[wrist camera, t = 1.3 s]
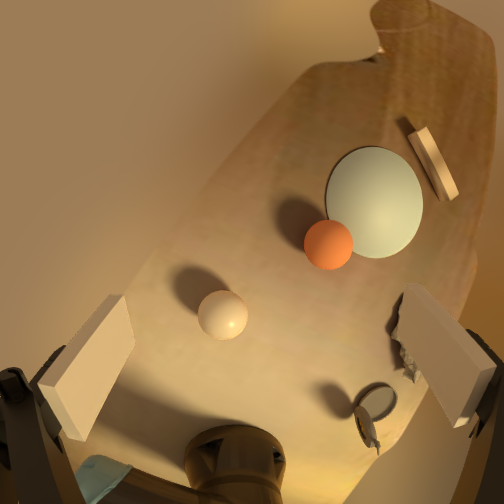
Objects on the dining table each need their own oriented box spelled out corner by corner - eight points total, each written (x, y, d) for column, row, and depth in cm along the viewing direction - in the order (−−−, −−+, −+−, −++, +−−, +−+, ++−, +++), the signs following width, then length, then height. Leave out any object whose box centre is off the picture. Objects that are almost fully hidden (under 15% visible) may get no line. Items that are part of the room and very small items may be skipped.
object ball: (334, 269, 38) (351, 279, 33) (292, 257, 37) (304, 266, 32) (348, 226, 37) (367, 230, 32) (306, 212, 37) (320, 213, 31)
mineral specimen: (372, 368, 42) (383, 384, 38) (399, 292, 40) (414, 303, 35) (407, 370, 42) (419, 385, 38) (434, 298, 40) (450, 309, 36)
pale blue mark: (405, 270, 39) (406, 270, 39) (311, 239, 37) (312, 240, 37) (431, 171, 37) (431, 171, 37) (342, 130, 36) (343, 130, 36)
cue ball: (238, 333, 38) (241, 353, 33) (194, 322, 37) (190, 340, 32) (251, 292, 38) (256, 306, 32) (206, 279, 37) (203, 291, 31)
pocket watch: (402, 395, 42) (433, 429, 32) (364, 432, 42) (389, 471, 33) (373, 372, 41) (405, 409, 31) (332, 413, 41) (355, 456, 31)
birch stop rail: (448, 193, 38) (459, 193, 36) (439, 200, 38) (450, 200, 36) (416, 130, 36) (426, 126, 34) (406, 136, 37) (416, 132, 34)
